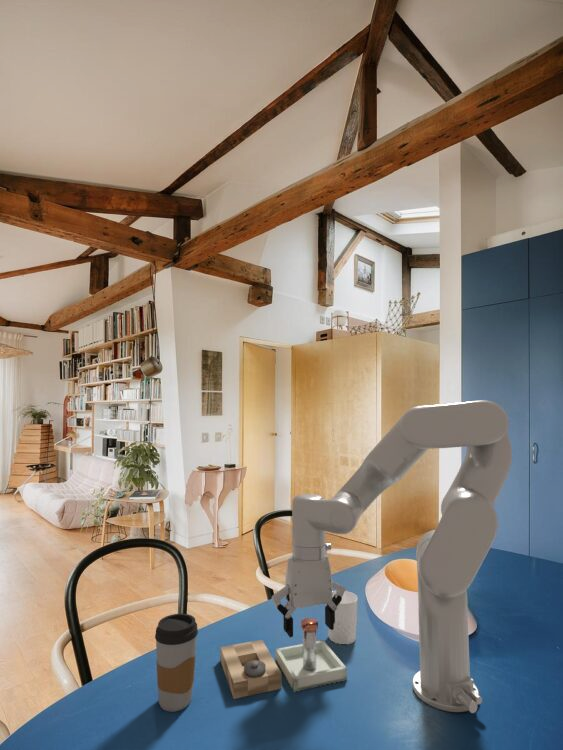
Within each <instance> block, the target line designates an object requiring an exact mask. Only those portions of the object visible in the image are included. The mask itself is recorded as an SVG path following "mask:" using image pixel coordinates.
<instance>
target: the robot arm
mask: <svg viewBox="0 0 563 750" xmlns="http://www.w3.org/2000/svg"><path fill="white" fill-rule="evenodd" d="M509 422H510V421H509V417H508V415H507V412H506V411H505V410H504V408H503V407H502V406H501V405H499V404H498V403H496V402H494V401H490V400H488V399H487V400H486V399H481V400H472V401H465V402H464V401H463V402H455V403H447V404H433V405H432V404H431V405H418V406H414V407H410V408H409V409H408V410H407V411H405V413H403V415H402V416H401V417H400V418H399V419H398V420H397V422H396V423H395V424H394V425H393V426H392V427H391V428H390V430H388V432H387V433H386V434H385V435H384V436H383V437H382V439H381V440H380V441H379V442H378V443H377V444H376V445H375V446H374V448H372V450H371V451H370V452H369V453H368V454H367V455H366V457H365V458H364V460H363V462H362V463H361V465H360V466H359V468H358V469H357V470H356V471H355V472H354V473H353V475H352V476H351V477H350V478H349V479H348V480H347V481H346V482H345V484H343V486H342V487H341V488H340V489H339V490H338V491H337V492H336V493H335V495H334V496H333V497H332V498H329V499H325V498H324V497H323V496H322V495H319V494H314V493H302V494H298V495H295V496H294V497H293V499H292V505H291V506H292V507H291V509H292V510H291V512H292V515H291V519H292V522H291V523H292V525H291V526H292V527H291V529H292V530H291V531H292V532H291V533H292V534H291V535H292V541H291V542H292V548H291V549H292V551H291V552H292V555H290V556H289V557H288V560H287V565H286V573H285V582H284V587H282V588H281V589H280V590H278V591H277V592H276V593H274V594H272V596H271V600H272V601H273V604H274V605H275V608H276V609H277V610H278V612H280V613H281V614H282V615H283V631H284V633H286V634H287V636H288V637H289V638H293V637H294V618H293V616H292V615H293V614H294V613H295V610H296V609H298V608H299V609H301V608H308V607H313V606H314V607H315V606H320V605H325V607H324V624H325V626H326V627H328V628H329V629H331V630H334V623H335V611H336V610H337V606H338V604H339V603H340V602H341V600H342V596H343V594H344V592H345V591H346V587H344V586H343V585H342V584H339V583H337V582H336V581H333V578H332V569H331V568H332V567H331V564H330V560H329V556H328V555H327V554H328V553H327V552H328V551H330V550H332V545H331V543H327V542H326V537H327V536H326V535H327V534H326V532H327V533H331V534H333V535H334V534H335V535H347V534H349V533H351V532H353V531H354V529H355V528H356V527H357V525H358V521H359V520H360V517H361V516H362V515H363V514H364V513H365V511H366V510H368V508H369V507H370V506H371V505H372V503H374V502H375V501H376V500H377V498H378V497H379V496H380V495H381V494H382V493H384V492H385V490H388V488H390V487H392V486H394V485H396V484H398V483H399V482H400V480H402V478H404V476H405V475H406V474H407V473H408V472H409V471H410V470H411V468H412V467H413V466H414V465H415V464H416V463H417V462H418V461H419V460H420V459H421V457H423V455H424V454H425V453H426V452H427V451H428V449H432V450H433V449H449V448H452V449H453V448H462V447H466V452H465V455H464V459H463V461H462V462H461V465H460V467H459V470H458V471H457V473H456V476H455V478H454V479H453V481H452V483H451V485H450V486H449V488H448V489H447V492H446V493H445V495H444V497H443V498H442V501H441V505H440V513H441V517H440V520H439V522H438V524H437V526H436V528H435V529H431V530H428V531H427V532H425V533H424V534H423V535H422V536H421V538H420V539H419V541H418V543H417V546H416V568H417V571H416V572H417V573H416V574H417V598H418V609H417V610H418V634H419V635H418V639H419V641H418V642H419V643H418V645H419V671H417V673H415V674H414V675H413V678H412V688H413V691H414V693H415V694H416V696H417V697H418V698H419V699H420V700H422V702H424V703H425V704H427V705H429V706H431V707H433V708H435V709H438V710H441V711H444V712H450V713H464V712H469V713H471V714H475V713H476V712H477V710H478V707H479V706H478V705H481V704H482V703H483V698H482V696H480V692H479V689H478V687H477V686H476V684H475V683H474V679H473V678H472V677H471V675H470V674H471V673H470V672H471V671H470V670H471V669H470V645H469V616H468V615H469V610H468V606H469V605H468V592H467V590H468V588H469V587H470V586H471V584H472V583H473V581H474V579H475V577H476V576H477V574H478V572H479V570H480V568H481V566H482V564H483V562H484V560H485V559H486V556H487V555H488V553H489V551H490V549H491V547H492V544H493V543H494V541H495V538H496V536H497V533H498V528H499V519H498V514H497V512H496V509H495V507H494V505H495V504H496V501H497V499H498V496H499V495H500V493H501V491H502V488H503V486H504V484H505V482H506V479H507V478H508V475H509V472H510V468H511V466H512V461H513V460H512V459H513V457H512V453H513V452H512V451H513V450H512V444H511V440H510V437H509V436H510V435H509V433H508V430H509V425H510V423H509ZM334 590H335V591H336V594H335V595H334V596H333V591H334ZM332 596H333V598H332ZM284 598H285V600H286V602H285V603H284V605H283V604H282V602H281V601H282V600H283V599H284ZM328 628H327V629H328ZM329 629H328V630H329Z"/></svg>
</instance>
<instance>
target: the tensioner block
mask: <svg viewBox="0 0 563 750" xmlns="http://www.w3.org/2000/svg"><path fill="white" fill-rule="evenodd" d="M219 647H220V651H219V652H220V654H219V659H220V660H219V661H220V664H221V667H222V669H223V674H224V675H225V678H226V681H227V684H228V687H229V689H230V692H231V695H232V697H233V699H234V700H236V699H240V698H245V697H249V696H254V695H257V694H262V693H268V692H272V691H276V690H281V689H282V671H281V669H280V667H279V666H278V664H277V662H276V660H275V659H274V658H273V656H272V654H271V653H270V652H271V651H269V649H268V647H267V646H266V644H265V642H264V640H263V639H258V640H252V641H247V642H242V643H236V644H230V645H224V646H219Z"/></svg>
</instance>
